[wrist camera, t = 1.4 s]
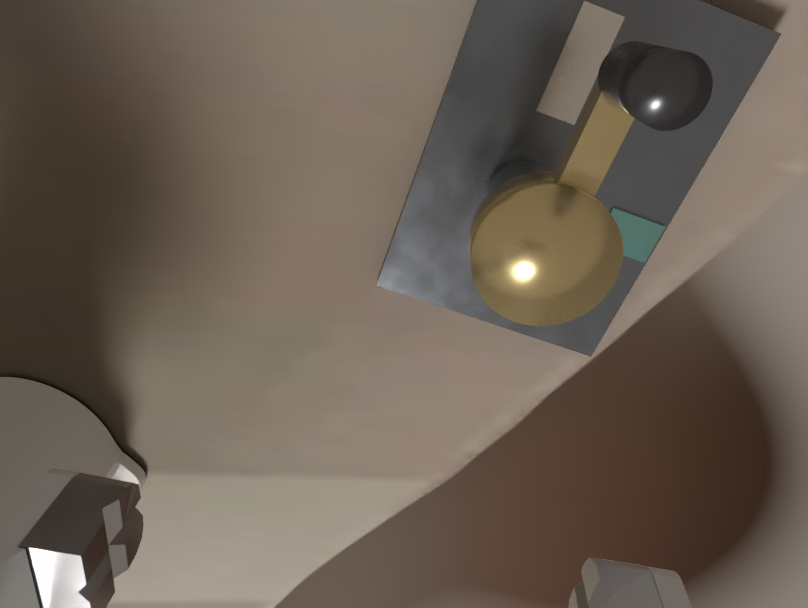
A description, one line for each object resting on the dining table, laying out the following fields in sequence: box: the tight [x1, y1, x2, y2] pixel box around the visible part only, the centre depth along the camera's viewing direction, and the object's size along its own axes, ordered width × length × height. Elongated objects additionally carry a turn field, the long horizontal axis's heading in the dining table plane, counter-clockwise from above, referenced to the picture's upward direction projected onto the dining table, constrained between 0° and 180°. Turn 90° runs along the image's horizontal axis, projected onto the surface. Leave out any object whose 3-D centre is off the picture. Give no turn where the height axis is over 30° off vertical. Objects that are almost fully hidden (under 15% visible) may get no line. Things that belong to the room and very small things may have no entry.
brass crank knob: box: [468, 41, 713, 326], centre depth 26 cm, size 13×7×7 cm, turn 161°
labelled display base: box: [377, 0, 781, 356], centre depth 33 cm, size 22×16×8 cm
